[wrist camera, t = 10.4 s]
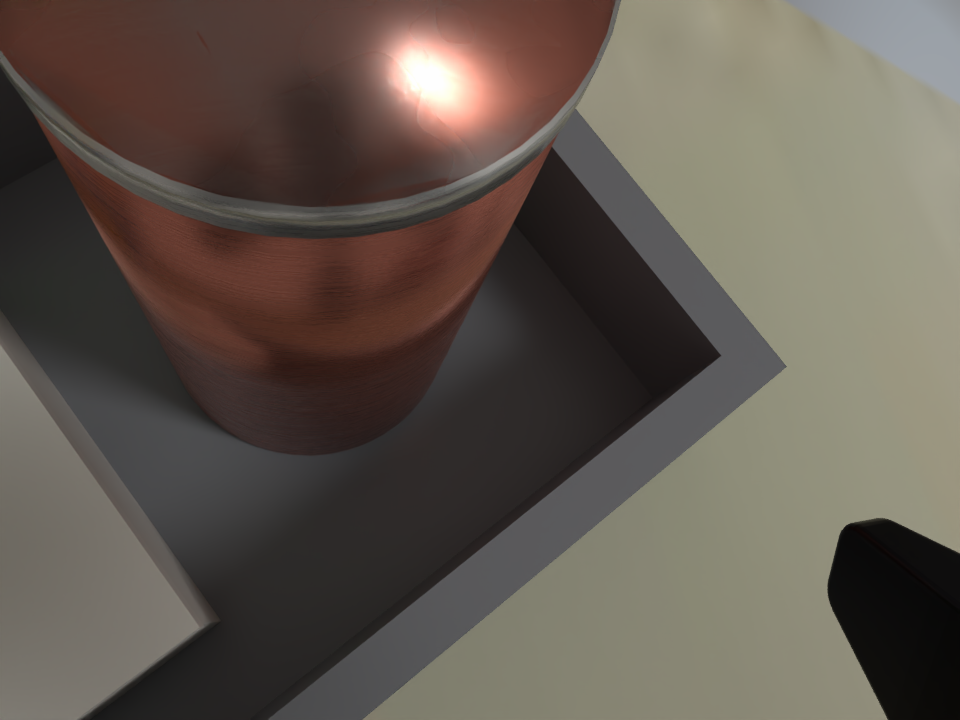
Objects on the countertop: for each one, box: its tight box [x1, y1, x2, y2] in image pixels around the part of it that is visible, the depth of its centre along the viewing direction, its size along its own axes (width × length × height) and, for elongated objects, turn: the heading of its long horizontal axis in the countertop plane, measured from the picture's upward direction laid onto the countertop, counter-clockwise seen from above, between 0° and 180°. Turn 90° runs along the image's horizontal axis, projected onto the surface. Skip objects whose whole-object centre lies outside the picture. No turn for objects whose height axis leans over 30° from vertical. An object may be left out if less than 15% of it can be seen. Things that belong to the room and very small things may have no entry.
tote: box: [0, 66, 787, 720], centre depth 19 cm, size 20×15×5 cm
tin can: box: [0, 0, 621, 456], centre depth 15 cm, size 6×6×13 cm
